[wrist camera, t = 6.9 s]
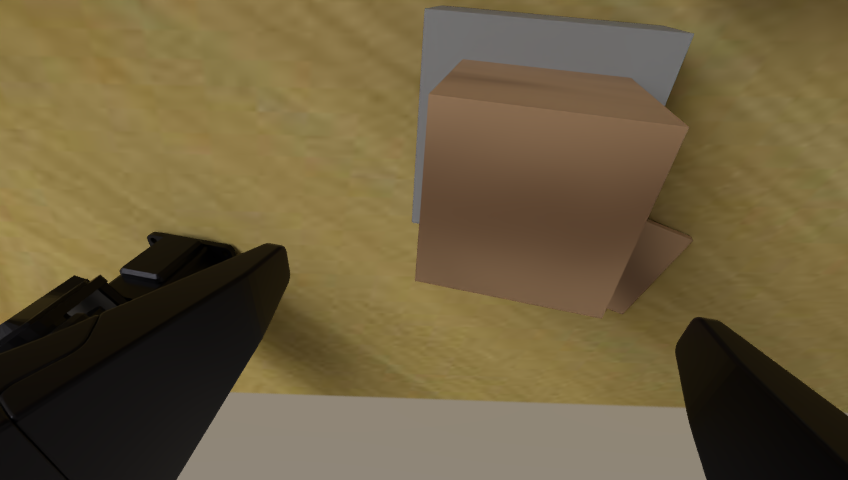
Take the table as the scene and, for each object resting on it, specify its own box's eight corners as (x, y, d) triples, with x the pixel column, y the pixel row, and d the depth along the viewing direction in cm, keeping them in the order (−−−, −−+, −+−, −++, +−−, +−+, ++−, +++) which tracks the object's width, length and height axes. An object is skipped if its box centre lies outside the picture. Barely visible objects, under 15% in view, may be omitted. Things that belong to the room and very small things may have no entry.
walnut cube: (580, 223, 17) (601, 318, 12) (446, 200, 18) (415, 280, 13) (631, 78, 14) (689, 127, 9) (462, 59, 14) (428, 94, 9)
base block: (592, 219, 20) (603, 256, 17) (427, 191, 22) (411, 222, 19) (663, 25, 15) (694, 34, 12) (442, 5, 17) (424, 8, 14)
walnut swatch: (620, 309, 24) (622, 314, 23) (531, 274, 24) (531, 278, 23) (690, 236, 20) (693, 240, 20) (586, 194, 20) (587, 197, 20)
